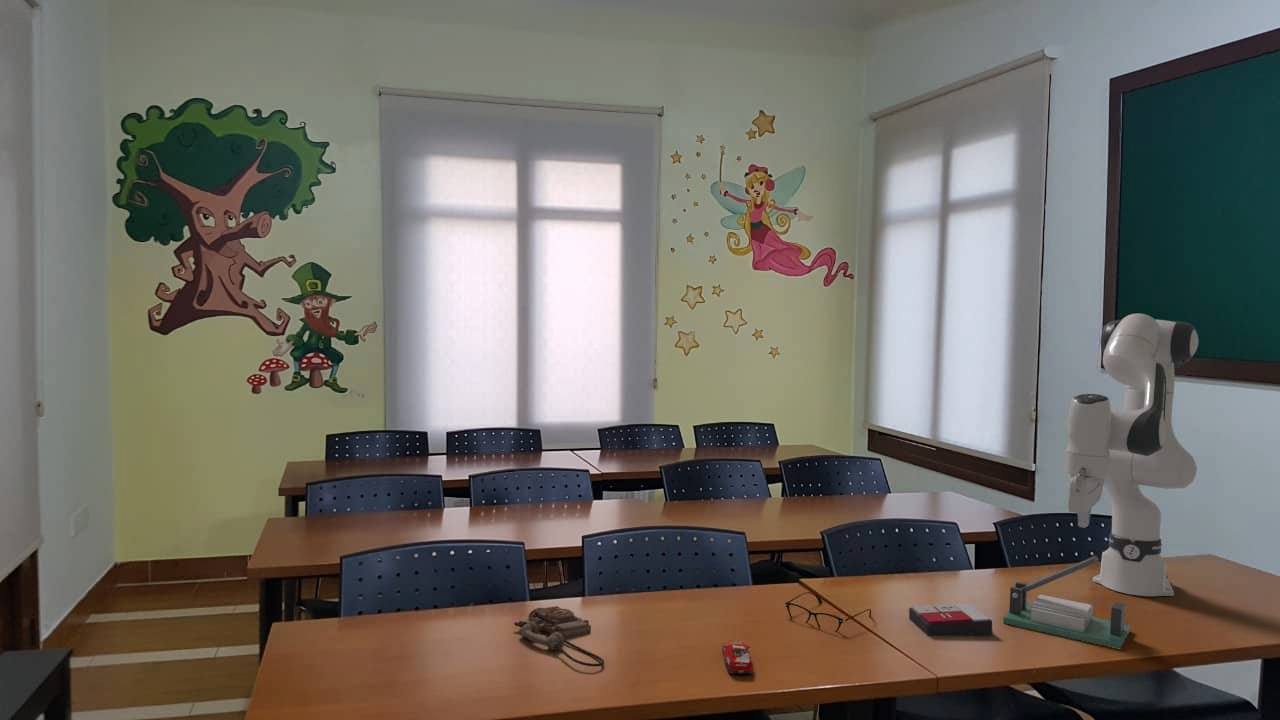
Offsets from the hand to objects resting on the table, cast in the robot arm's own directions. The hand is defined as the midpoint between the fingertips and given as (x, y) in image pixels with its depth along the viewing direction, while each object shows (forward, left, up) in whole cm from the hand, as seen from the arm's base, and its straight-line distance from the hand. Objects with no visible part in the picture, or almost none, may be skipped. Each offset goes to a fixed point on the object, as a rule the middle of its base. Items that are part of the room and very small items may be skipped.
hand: (1083, 526), depth 193 cm
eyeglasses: (+30, -47, -25) cm, 61 cm away
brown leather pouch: (+81, -86, -25) cm, 120 cm away
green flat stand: (0, -2, -24) cm, 24 cm away
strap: (0, -5, -13) cm, 14 cm away
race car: (+67, -50, -25) cm, 87 cm away
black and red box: (+17, -23, -25) cm, 38 cm away
